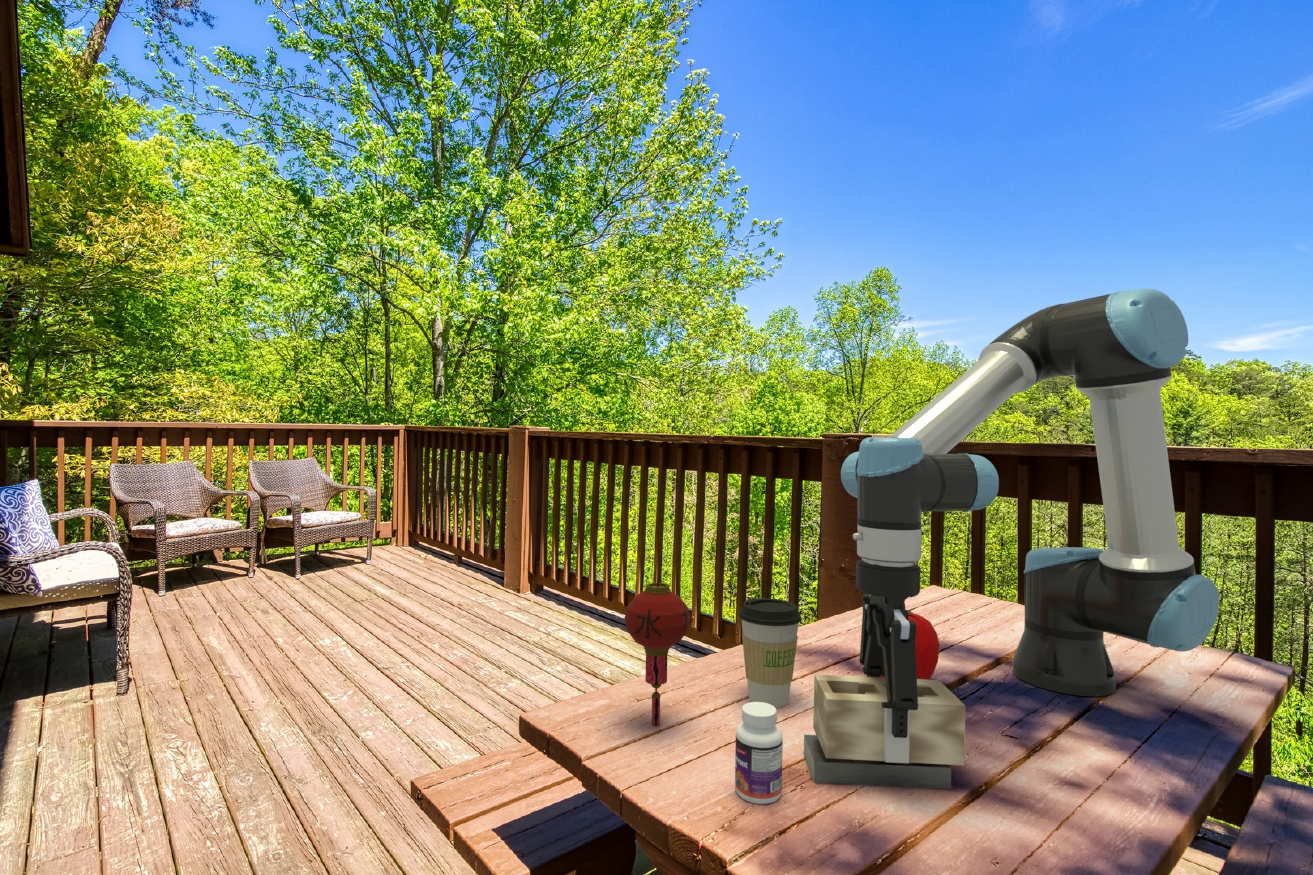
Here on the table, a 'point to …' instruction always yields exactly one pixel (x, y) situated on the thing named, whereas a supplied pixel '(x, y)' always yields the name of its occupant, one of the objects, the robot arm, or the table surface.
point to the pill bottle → (758, 754)
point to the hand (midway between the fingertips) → (884, 743)
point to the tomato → (924, 646)
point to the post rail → (873, 770)
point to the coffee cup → (769, 648)
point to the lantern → (657, 630)
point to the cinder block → (857, 720)
